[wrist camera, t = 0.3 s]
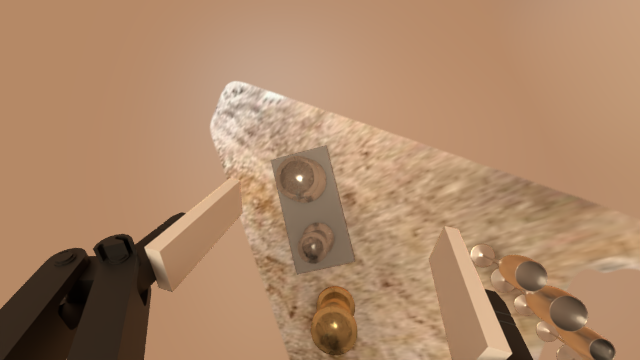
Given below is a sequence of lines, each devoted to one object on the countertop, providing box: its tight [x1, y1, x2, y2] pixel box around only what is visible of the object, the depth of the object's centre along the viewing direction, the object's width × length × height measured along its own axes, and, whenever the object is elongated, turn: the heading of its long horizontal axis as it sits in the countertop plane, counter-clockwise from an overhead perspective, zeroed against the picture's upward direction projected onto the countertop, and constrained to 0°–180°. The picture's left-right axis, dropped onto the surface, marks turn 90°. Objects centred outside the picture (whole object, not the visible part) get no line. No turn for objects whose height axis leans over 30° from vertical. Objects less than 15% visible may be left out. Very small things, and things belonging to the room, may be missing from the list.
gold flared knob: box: [311, 286, 357, 355], centre depth 43 cm, size 8×8×9 cm
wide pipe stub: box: [276, 156, 327, 203], centre depth 44 cm, size 9×9×8 cm
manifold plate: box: [271, 146, 355, 274], centre depth 48 cm, size 24×12×2 cm, turn 14°
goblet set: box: [471, 244, 616, 360], centre depth 37 cm, size 28×6×13 cm, turn 38°
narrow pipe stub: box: [298, 222, 334, 264], centre depth 43 cm, size 6×6×9 cm
